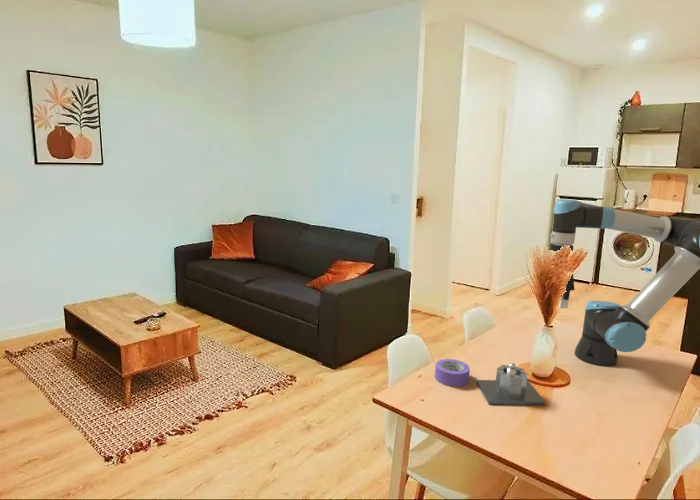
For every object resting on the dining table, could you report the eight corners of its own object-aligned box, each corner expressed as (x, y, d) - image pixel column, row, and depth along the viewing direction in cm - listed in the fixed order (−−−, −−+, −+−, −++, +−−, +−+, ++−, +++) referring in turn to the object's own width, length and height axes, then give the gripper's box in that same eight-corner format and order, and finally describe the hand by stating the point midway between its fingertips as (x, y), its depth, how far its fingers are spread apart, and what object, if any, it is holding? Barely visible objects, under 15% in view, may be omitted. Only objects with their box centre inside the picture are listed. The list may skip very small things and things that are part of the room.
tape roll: (457, 369, 173) (458, 357, 172) (475, 384, 162) (476, 371, 161) (428, 373, 169) (429, 360, 168) (445, 389, 159) (446, 375, 158)
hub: (518, 384, 160) (520, 365, 159) (528, 397, 152) (530, 377, 150) (492, 383, 160) (494, 364, 159) (501, 397, 152) (503, 377, 150)
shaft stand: (527, 384, 163) (531, 355, 161) (544, 405, 150) (548, 374, 147) (476, 383, 163) (479, 354, 161) (488, 404, 149) (491, 373, 147)
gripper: (537, 236, 176) (530, 291, 181) (568, 251, 152) (559, 313, 156) (556, 237, 176) (550, 291, 181) (590, 251, 152) (582, 313, 157)
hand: (554, 301), depth 169 cm, fingers open, 13 cm apart
